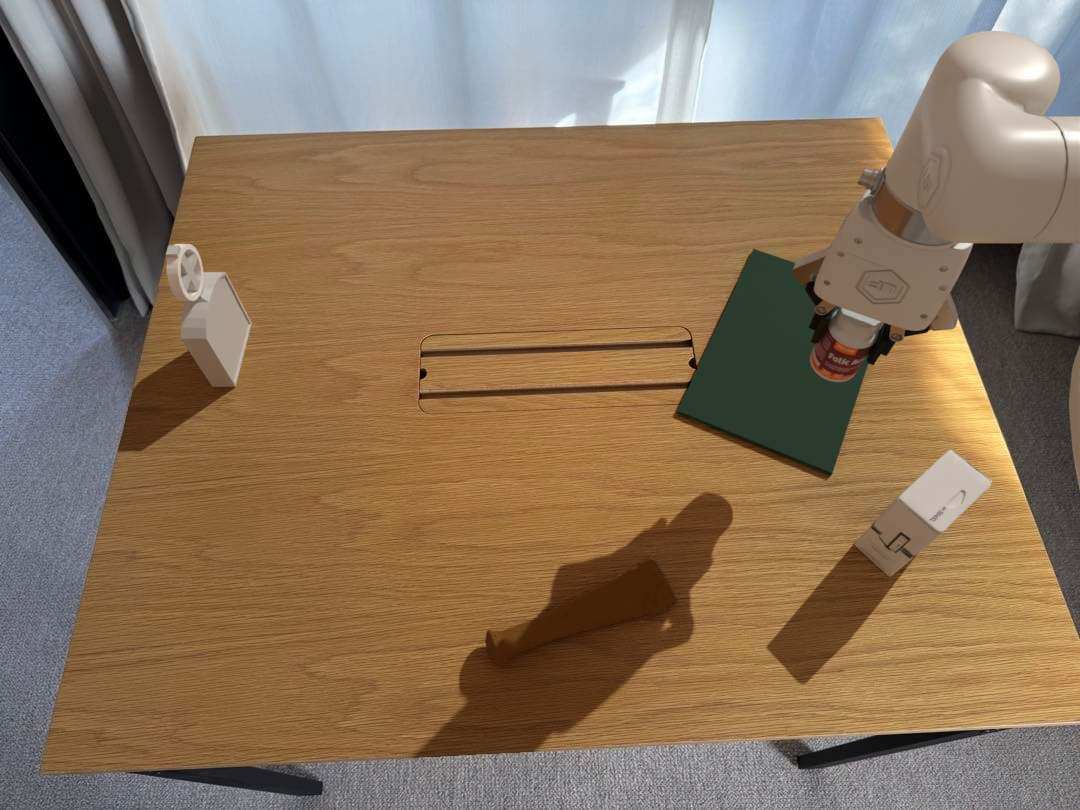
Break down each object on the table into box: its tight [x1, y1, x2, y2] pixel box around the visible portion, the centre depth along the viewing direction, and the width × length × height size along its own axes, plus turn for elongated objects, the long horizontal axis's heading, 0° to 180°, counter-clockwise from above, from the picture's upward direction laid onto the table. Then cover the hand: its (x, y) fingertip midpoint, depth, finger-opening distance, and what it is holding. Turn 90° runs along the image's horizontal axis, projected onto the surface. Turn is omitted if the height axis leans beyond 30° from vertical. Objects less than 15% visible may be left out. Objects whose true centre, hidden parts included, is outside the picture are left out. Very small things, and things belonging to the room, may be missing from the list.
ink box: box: [853, 449, 993, 577], centre depth 75 cm, size 9×5×12 cm, turn 130°
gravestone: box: [165, 243, 253, 388], centre depth 85 cm, size 3×9×18 cm, turn 0°
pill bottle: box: [810, 307, 884, 382], centre depth 74 cm, size 5×5×8 cm
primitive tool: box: [484, 558, 677, 668], centre depth 74 cm, size 19×6×4 cm, turn 115°
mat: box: [676, 248, 881, 476], centre depth 93 cm, size 18×28×1 cm, turn 154°
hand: (845, 342), depth 74 cm, fingers closed on pill bottle, 4 cm apart
